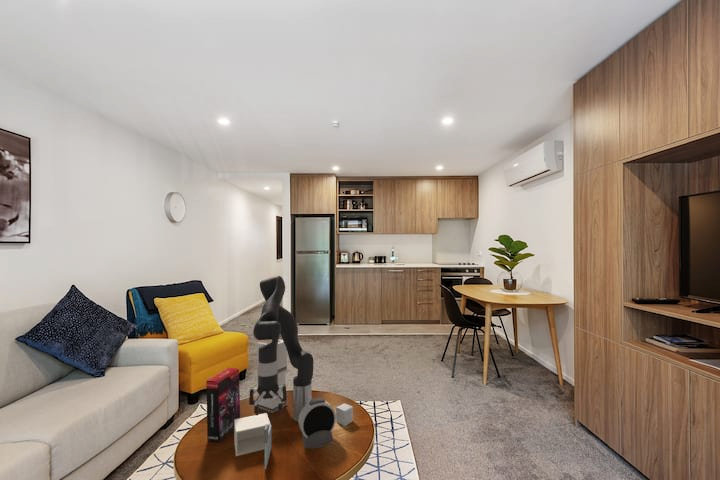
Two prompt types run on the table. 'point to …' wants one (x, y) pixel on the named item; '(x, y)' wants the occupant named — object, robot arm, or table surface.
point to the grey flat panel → (267, 443)
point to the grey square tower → (272, 404)
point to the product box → (344, 414)
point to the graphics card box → (222, 404)
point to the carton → (250, 433)
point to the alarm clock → (317, 423)
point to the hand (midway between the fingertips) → (268, 413)
